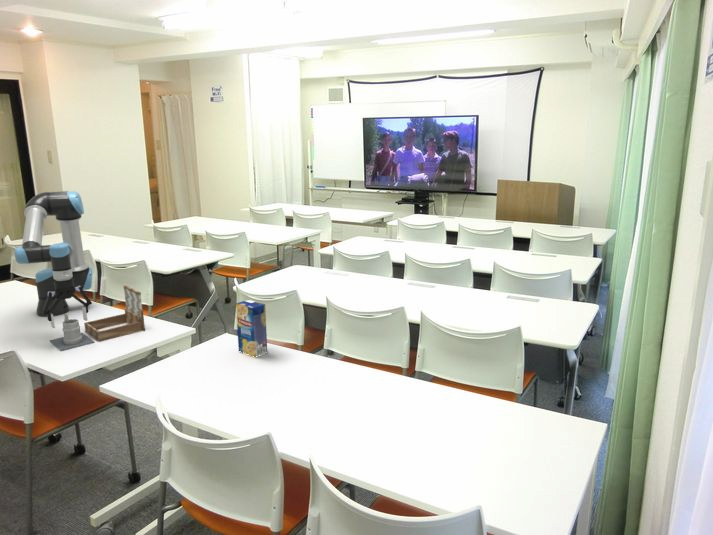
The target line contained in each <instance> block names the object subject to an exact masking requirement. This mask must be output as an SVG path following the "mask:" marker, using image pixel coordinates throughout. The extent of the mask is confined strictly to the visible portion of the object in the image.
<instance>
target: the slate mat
mask: <svg viewBox="0 0 713 535" xmlns="http://www.w3.org/2000/svg"><path fill="white" fill-rule="evenodd" d="M81 335H82V341H81V342H80V343H78V344H74V345H66V344H65V343H64V341H63V338H64V336H62V337H58V338H54V339H49V342H50V343H51V344H52V345H53V346H54V347H55V348H57V350H59V351H60V352H64V351H68V350H70V349H71V350H72V349H76V348H79V347H83V346H87V345H91V344H95V341H94V340H93V339H92V338H90V337H89V336H87V335H86V334H85V333H83V332H81Z"/></svg>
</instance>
